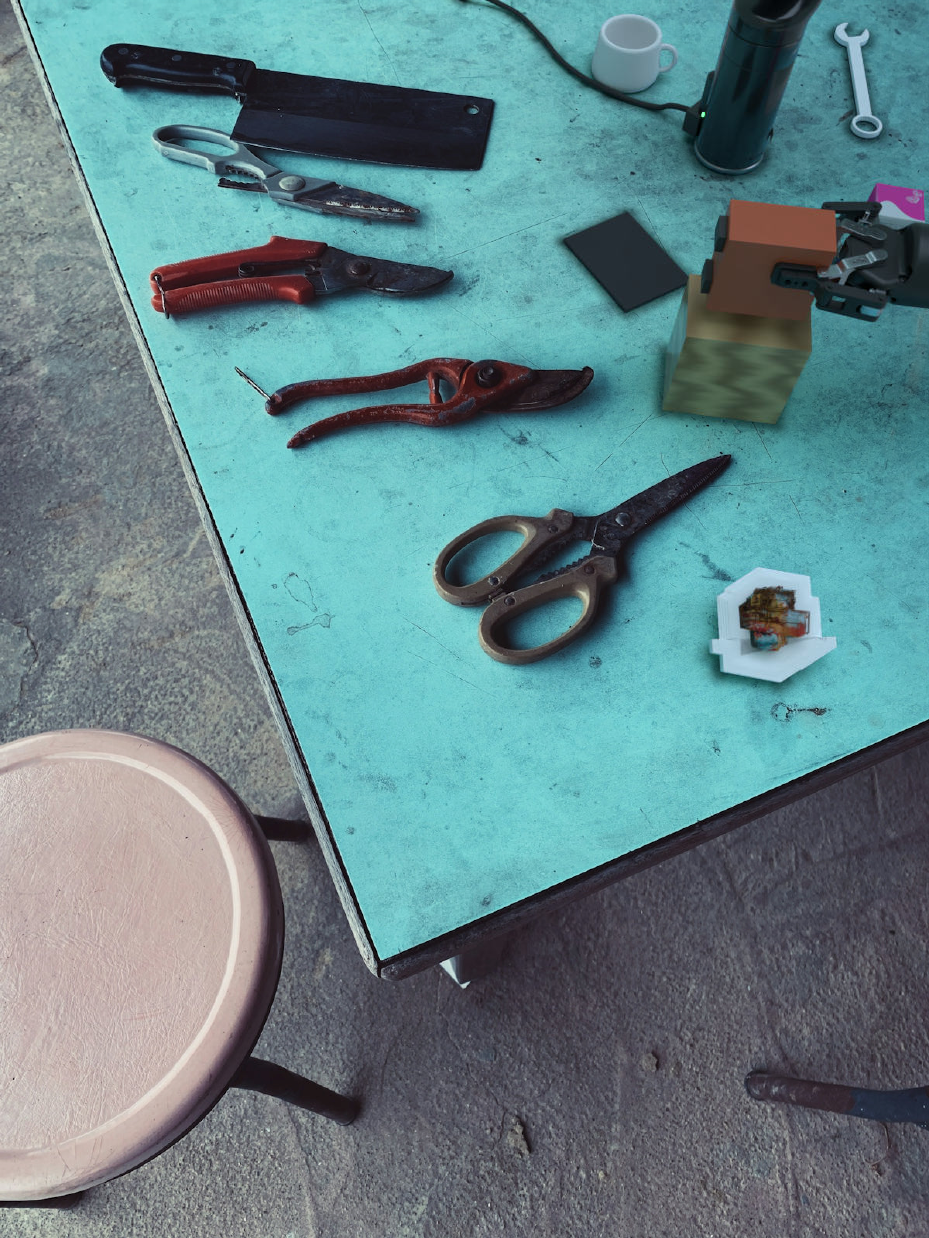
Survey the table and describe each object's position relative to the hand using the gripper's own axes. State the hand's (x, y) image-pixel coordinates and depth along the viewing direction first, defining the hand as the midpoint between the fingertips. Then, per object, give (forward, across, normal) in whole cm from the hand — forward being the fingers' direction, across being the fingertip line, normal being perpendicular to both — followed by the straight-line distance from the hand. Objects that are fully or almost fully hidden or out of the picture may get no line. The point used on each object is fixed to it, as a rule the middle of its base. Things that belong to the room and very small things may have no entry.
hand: (773, 249), depth 90 cm
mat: (+12, -18, +20) cm, 30 cm away
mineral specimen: (-5, +32, +20) cm, 38 cm away
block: (0, 0, +6) cm, 6 cm away
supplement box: (-17, -20, +21) cm, 33 cm away
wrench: (-18, -59, +21) cm, 65 cm away
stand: (0, 0, +20) cm, 20 cm away
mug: (+14, -55, +21) cm, 61 cm away
